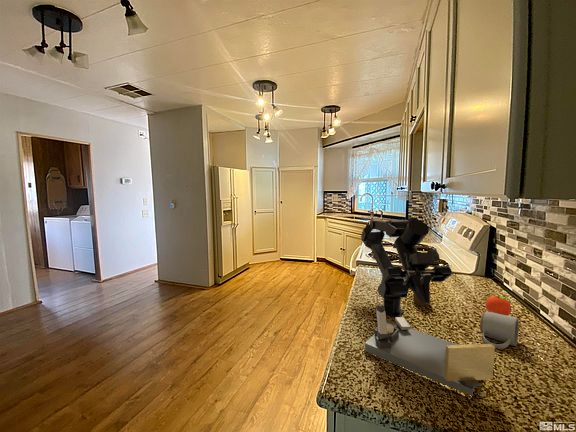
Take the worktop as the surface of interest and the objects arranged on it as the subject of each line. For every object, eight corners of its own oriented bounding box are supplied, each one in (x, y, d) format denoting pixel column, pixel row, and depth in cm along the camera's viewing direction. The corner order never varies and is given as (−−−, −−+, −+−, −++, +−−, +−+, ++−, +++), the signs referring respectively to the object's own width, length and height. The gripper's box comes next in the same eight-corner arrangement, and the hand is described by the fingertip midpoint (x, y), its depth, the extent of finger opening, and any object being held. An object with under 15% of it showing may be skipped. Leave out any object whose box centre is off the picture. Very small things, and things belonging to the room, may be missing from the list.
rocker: (394, 320, 78) (395, 317, 77) (403, 319, 78) (403, 317, 77) (401, 329, 73) (402, 326, 73) (410, 329, 73) (410, 326, 73)
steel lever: (377, 338, 68) (373, 304, 70) (386, 338, 68) (383, 304, 70) (380, 340, 66) (376, 305, 68) (390, 340, 66) (386, 304, 68)
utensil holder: (412, 304, 96) (414, 274, 95) (413, 298, 102) (414, 269, 101) (430, 307, 93) (431, 276, 92) (429, 301, 99) (431, 272, 98)
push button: (383, 326, 74) (383, 321, 74) (395, 331, 72) (395, 326, 72) (378, 331, 72) (378, 326, 72) (390, 336, 69) (390, 331, 69)
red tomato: (507, 312, 89) (508, 293, 89) (519, 322, 83) (521, 301, 82) (481, 309, 92) (482, 291, 91) (490, 319, 85) (492, 299, 84)
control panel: (387, 327, 80) (387, 315, 80) (480, 361, 64) (482, 346, 64) (364, 351, 69) (365, 336, 68) (472, 400, 52) (473, 381, 52)
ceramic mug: (483, 328, 80) (485, 305, 79) (518, 339, 73) (520, 314, 73) (475, 342, 73) (476, 317, 72) (512, 356, 66) (515, 329, 66)
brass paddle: (440, 376, 55) (442, 342, 54) (484, 375, 56) (487, 341, 55) (450, 387, 52) (452, 351, 52) (496, 385, 53) (499, 349, 52)
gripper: (387, 240, 72) (405, 293, 62) (450, 239, 72) (477, 291, 63) (376, 258, 80) (389, 307, 71) (432, 257, 81) (453, 306, 71)
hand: (427, 303), depth 69 cm, fingers closed
